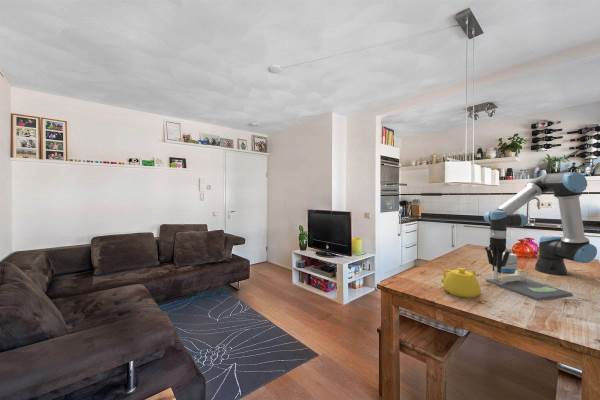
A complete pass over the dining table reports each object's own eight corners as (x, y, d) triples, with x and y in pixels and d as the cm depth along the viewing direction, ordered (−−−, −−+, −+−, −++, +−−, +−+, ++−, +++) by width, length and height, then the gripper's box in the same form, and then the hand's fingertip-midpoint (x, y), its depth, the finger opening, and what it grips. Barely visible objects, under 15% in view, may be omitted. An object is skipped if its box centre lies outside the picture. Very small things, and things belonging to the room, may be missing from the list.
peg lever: (519, 278, 149) (519, 268, 149) (528, 281, 144) (528, 271, 144) (492, 281, 145) (493, 271, 145) (501, 284, 140) (501, 274, 140)
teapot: (468, 301, 123) (469, 275, 122) (432, 288, 140) (432, 265, 139) (490, 293, 132) (491, 269, 132) (454, 282, 149) (455, 260, 148)
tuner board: (518, 278, 155) (518, 275, 155) (572, 295, 130) (572, 292, 130) (486, 281, 149) (486, 278, 149) (536, 300, 124) (536, 297, 124)
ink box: (517, 273, 164) (517, 255, 164) (502, 272, 166) (502, 254, 165) (509, 269, 173) (509, 252, 172) (494, 268, 174) (495, 251, 174)
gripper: (482, 235, 152) (480, 274, 153) (506, 239, 140) (505, 282, 141) (489, 235, 155) (488, 273, 156) (514, 238, 143) (513, 280, 144)
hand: (496, 277), depth 149 cm, fingers closed
